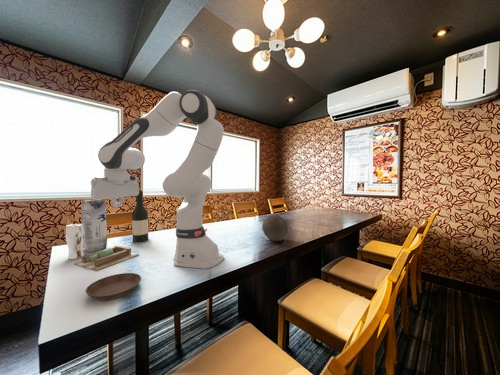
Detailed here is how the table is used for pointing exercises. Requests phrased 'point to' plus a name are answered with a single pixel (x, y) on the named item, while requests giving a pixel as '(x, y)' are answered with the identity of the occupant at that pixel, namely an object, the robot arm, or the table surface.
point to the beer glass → (75, 240)
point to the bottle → (100, 254)
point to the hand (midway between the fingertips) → (117, 207)
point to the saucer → (113, 286)
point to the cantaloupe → (275, 228)
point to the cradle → (108, 259)
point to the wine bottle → (140, 220)
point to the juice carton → (94, 224)
